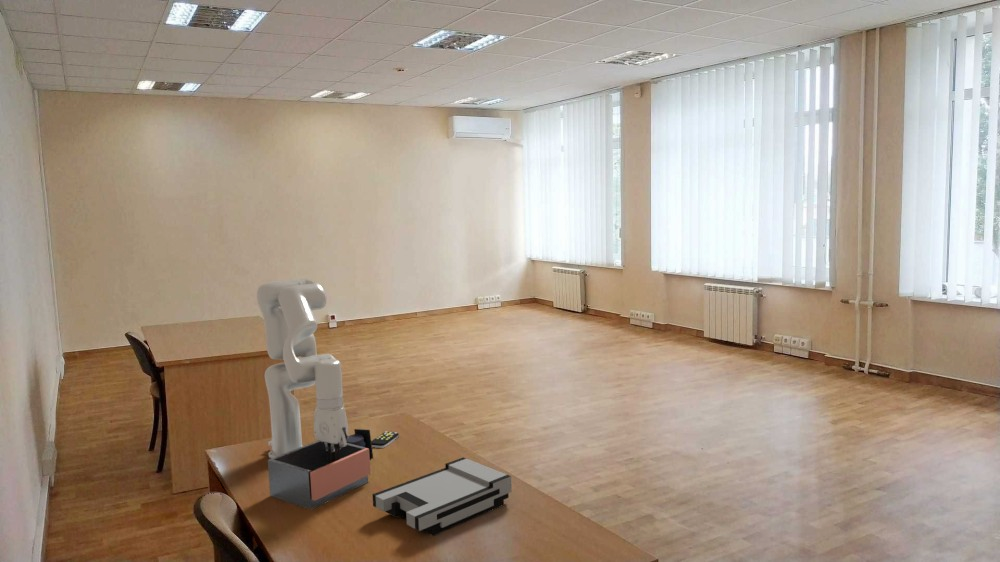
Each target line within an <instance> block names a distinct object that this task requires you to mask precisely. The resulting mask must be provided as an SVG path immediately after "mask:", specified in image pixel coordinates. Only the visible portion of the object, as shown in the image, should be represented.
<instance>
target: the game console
mask: <svg viewBox="0 0 1000 562" xmlns="http://www.w3.org/2000/svg"><path fill="white" fill-rule="evenodd" d="M444 465H445V467H444V468H441V469H438V470H435V471H432V472H430V473H428V474H425V475H421V476H419V477H416V478H413V479H411V480H407V481H405V482H402V483H400V484H398V485H394V486H391V487H389V488H387V489H383V490H380V491H378V492H374V493H372V494H371V495H372V506H373V507H374V508H376V509H378V510H380V511H382V512H384V513H387V514H389V515H390V516H391V517H393V518H397V517H398V518H400V519H401V518H402V520H403V519H404V520H406V525H407V526H409V527H411V528H412V529H414V530H416V531H418V532H422V533H424V534H429V535H431V536H433V537H434V536H435V535H438V534H440V533H443V532H445V531H448V530H450V529H452V528H455V527H457V526H459V525H461V524H463V523H466V522H467V521H468V522H469V521H470V520H473V519H475V518H476V517H480V516H482V515H484V514H486V513H488V511H489V512H491V511H493V510H496V509H498V508H500V507H502V506H504V505H505V501H504V500H506V499H509V497H510V496H509V493H512V492H513V491H512V476H511V475H509V474H507V473H504V472H501V471H499V470H496V469H494V468H491V467H489V466H486V465H483V464H481V463H479V462H476V461H473V460H471V459H468V458H466V457H460V458H457V459H455V460H452V461H449V462H446V463H445V464H444ZM503 504H504V505H503ZM501 505H502V506H501ZM499 506H500V507H499ZM497 507H498V508H497ZM495 508H496V509H495ZM492 509H493V510H492ZM490 510H491V511H490ZM405 518H406V519H405Z"/></svg>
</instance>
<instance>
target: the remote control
mask: <svg viewBox="0 0 1000 562" xmlns="http://www.w3.org/2000/svg"><path fill="white" fill-rule="evenodd" d="M398 438H400V434H399V433H398V432H397V431H396V432H395V431H394V432H393V431H392V432H391V431H384V432H382V433H381V434H379V435H378V436H376V437H375V438H374V439H371V444H372V448H373V447H375V448H376V449H383V448H384V447H385V448H386V447H388V446H389V445H391V444H392V443H393V442H394V441H396V440H397V439H398ZM387 445H388V446H387ZM385 448H384V449H385Z"/></svg>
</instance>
